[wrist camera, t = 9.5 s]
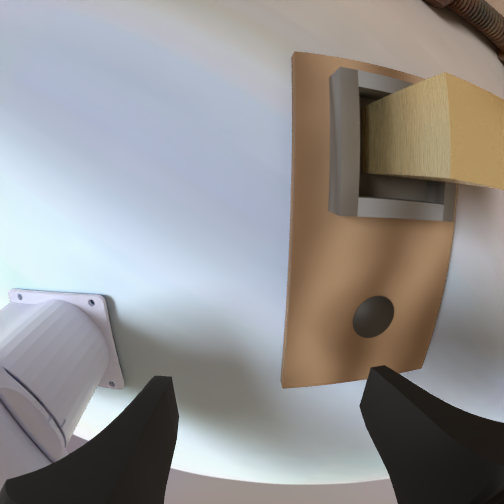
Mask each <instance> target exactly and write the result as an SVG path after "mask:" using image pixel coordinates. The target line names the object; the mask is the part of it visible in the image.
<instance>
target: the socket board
mask: <svg viewBox="0 0 504 504" xmlns="http://www.w3.org/2000/svg"><path fill="white" fill-rule="evenodd" d="M424 80H426V79H423V78H420V77H417V76H414V75H411V74H407V73H404V72H400V71H397V70H393V69H389V68H386V67H382V66H377V65H373V64H369V63H364V62H360V61H355V60H349V59H344V58H338V57H332V56H326V55H319V54H312V53H303V52H294V54H293V56H292V175H291V213H290V240H289V263H288V282H287V300H286V316H285V331H284V345H283V358H282V370H281V384H282V388H296V387H308V386H318V385H327V384H336V383H343V382H351V381H357V380H364V379H368V376H369V372H370V368H371V367H376V366H382V365H385V366H387V367H389V368H391V369H392V370H394V371H395V372H397V373H402V372H407V371H412V370H416V369H420V368H422V365H423V362H424V359H425V356H426V353H427V350H428V347H429V344H430V341H431V337H432V334H433V330H434V327H435V323H436V319H437V316H438V312H439V308H440V304H441V299H442V295H443V290H444V286H445V281H446V276H447V270H448V265H449V259H450V253H451V246H452V239H453V231H454V223H455V213H456V201H457V185H458V183H449V182H440V181H430V180H419V179H410V178H403V177H394V176H385V175H376V174H365V173H362V110H361V108H362V107H364V106H366V105H368V104H370V103H372V102H375V101H377V100H379V99H381V98H384V97H386V96H388V95H390V94H393V93H395V92H397V91H400V90H402V89H404V88H407V87H409V86H411V85H414V84H416V83H419V82H421V81H424Z"/></svg>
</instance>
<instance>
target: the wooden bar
mask: <svg viewBox="0 0 504 504" xmlns="http://www.w3.org/2000/svg"><path fill="white" fill-rule="evenodd" d="M361 110H362V173H365V174H376V175H385V176H394V177H403V178H410V179H419V180H430V181H440V182H449V183H458V184H466V185H473V186H481V187H488V188H494V189H500V190H504V100H503V99H501V98H499V97H498V96H496V95H494V94H492V93H490V92H488V91H486V90H484V89H482V88H480V87H478V86H476V85H474V84H471V83H469V82H467V81H465V80H462V79H460V78H458V77H455V76H453V75H451V74H448V73H446V72H444V73H442V74H439V75H436V76H434V77H431V78H429V79H426V80H424V81H421V82H419V83H416V84H414V85H411V86H409V87H407V88H404V89H402V90H400V91H397V92H395V93H393V94H390V95H388V96H386V97H384V98H381V99H379V100H377V101H375V102H372V103H370V104H368V105H366V106H364V107H362V108H361Z"/></svg>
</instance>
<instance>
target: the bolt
mask: <svg viewBox="0 0 504 504" xmlns="http://www.w3.org/2000/svg"><path fill="white" fill-rule="evenodd" d="M424 1H425V2H427V3H429V4H430V5H432V6H434V7H439V8H443V7H448V8H449V9H451V10H452V11H454V12H455V13H457V14H458V15H460V16H461V17H463V18H464V19H465V20H466V21H468V22H469V23H470V24H472V25H473V26H475V27H476V28H477V29H478V30H480V31H481V32H482V33H483V34H485V35H486V36H487V37H488V38H489V39H490V40H491V41H492V42H493V43H494V44H495V45H496V46H497V50H498V59H499V60H500V61H501V62H502V63H504V17H503V16H502V15H500V14H499V13H498V12H497V11H496V10H495V9H494V8H493V7H492V6H490V5H489V4H488V3H487V2H486V1H484V0H424Z"/></svg>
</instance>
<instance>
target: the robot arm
mask: <svg viewBox="0 0 504 504" xmlns="http://www.w3.org/2000/svg"><path fill="white" fill-rule="evenodd" d="M8 295H9V299H10V303H9V304H8V305H6V306H5V307H4V308H2V309H1V310H0V504H164V496H165V490H166V484H167V480H168V475H169V471H170V467H171V462H172V458H173V454H174V449H175V445H176V440H177V432H178V421H179V414H178V409H177V404H176V399H175V394H174V388H173V383H172V377H166V376H154V377H153V378H152V379H151V380H150V381H149V382H148V384H147V385H146V386H145V387H144V388H143V390H142V391H141V392H140V393H139V394H138V395H137V396H136V398H135V399H134V400H133V401H132V402H131V403H130V404H129V405H128V406H127V407H126V408H125V409H124V410H123V412H122V413H121V414H120V415H119V416H118V417H116V418H115V419H114V420H113V421H112V422H111V423H110V424H109V425H108V426H107V427H106V428H105V429H104V430H102V431H101V432H100V433H99V434H98V435H96V436H95V437H94V438H93V439H91V440H90V441H89V442H87V443H86V444H85V445H83V446H82V447H80V448H78V449H77V450H76V451H74V452H72V453H70V454H69V455H68V454H67V452H66V450H65V448H66V446H67V444H68V442H69V440H70V438H71V436H72V434H73V432H74V430H75V428H76V426H77V424H78V422H79V420H80V418H81V416H82V414H83V412H84V411H85V409H86V407H87V405H88V403H89V401H90V399H91V397H92V396H93V394H94V392H95V390H96V388H97V386H101V387H107V388H114V389H122V388H123V387H124V385H125V383H124V379H123V376H122V372H121V368H120V364H119V361H118V357H117V352H116V348H115V344H114V340H113V335H112V330H111V326H110V321H109V316H108V310H107V305H106V300H105V298H104V297H103V296H101V295H96V294H77V293H61V292H47V291H34V290H22V289H11V290H10V291H9V293H8ZM21 295H22V297H21ZM91 300H93V301H94V303H95V304H92V303H91ZM112 382H113V383H112ZM360 409H361V412H362V416H363V419H364V422H365V425H366V428H367V430H368V432H369V434H370V436H371V438H372V440H373V442H374V444H375V446H376V448H377V450H378V452H379V454H380V456H381V458H382V461H383V463H384V465H385V467H386V469H387V471H388V474H389V476H390V479H391V482H392V485H393V488H394V491H395V495H396V499H397V502H398V504H504V423H502V422H497V421H493V420H489V419H486V418H482V417H479V416H476V415H473V414H471V413H468V412H466V411H463V410H461V409H459V408H456V407H454V406H452V405H450V404H448V403H446V402H444V401H442V400H441V399H439V398H437V397H435V396H433V395H432V394H430V393H428V392H427V391H425V390H423V389H422V388H420V387H419V386H417V385H415V384H414V383H412V382H411V381H409V380H408V379H406V378H405V377H403V376H402V375H400V374H398V373H397V372H395V371H394V370H392V369H391V368H389V367H387V366H385V365H382V366H376V367H371V368H370V372H369V376H368V379H367V383H366V386H365V390H364V393H363V396H362V400H361V403H360Z"/></svg>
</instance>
